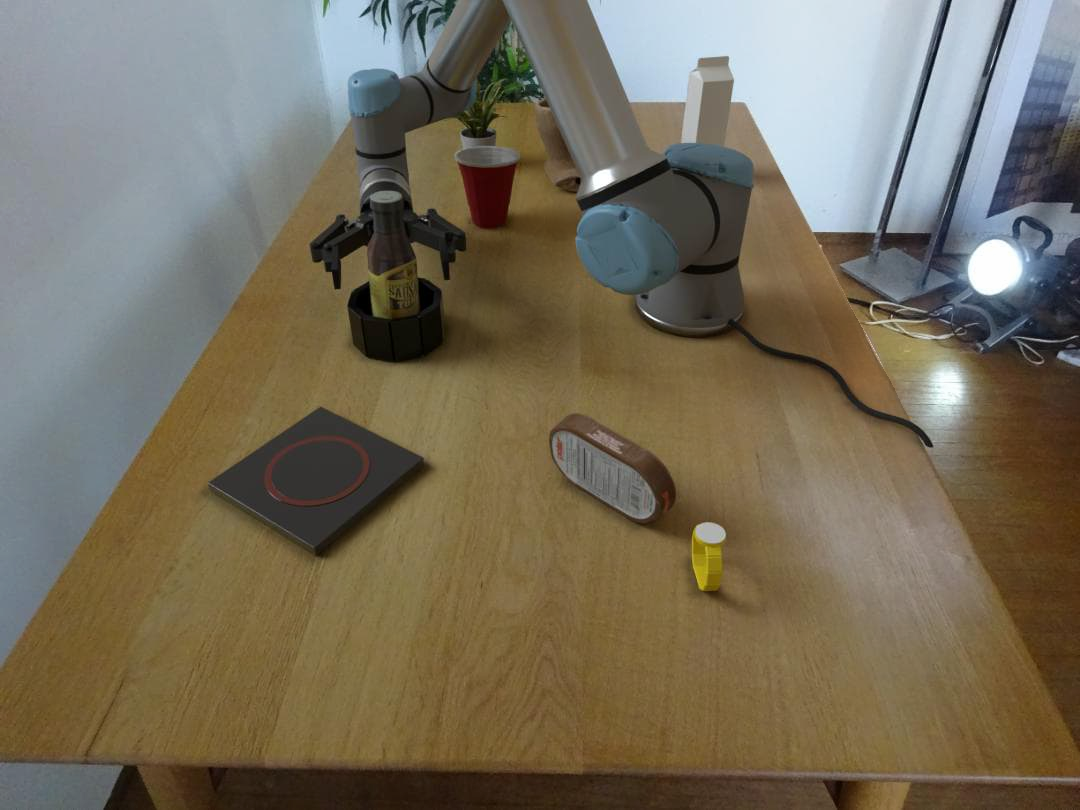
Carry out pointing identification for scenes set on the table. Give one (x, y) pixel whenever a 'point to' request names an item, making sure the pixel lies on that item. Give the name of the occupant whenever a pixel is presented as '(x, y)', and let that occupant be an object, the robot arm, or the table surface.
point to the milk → (708, 102)
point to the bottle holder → (397, 326)
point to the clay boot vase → (556, 150)
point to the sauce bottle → (391, 260)
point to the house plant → (480, 120)
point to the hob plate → (316, 478)
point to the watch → (708, 555)
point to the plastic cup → (488, 182)
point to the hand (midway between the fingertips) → (391, 275)
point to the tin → (612, 468)
